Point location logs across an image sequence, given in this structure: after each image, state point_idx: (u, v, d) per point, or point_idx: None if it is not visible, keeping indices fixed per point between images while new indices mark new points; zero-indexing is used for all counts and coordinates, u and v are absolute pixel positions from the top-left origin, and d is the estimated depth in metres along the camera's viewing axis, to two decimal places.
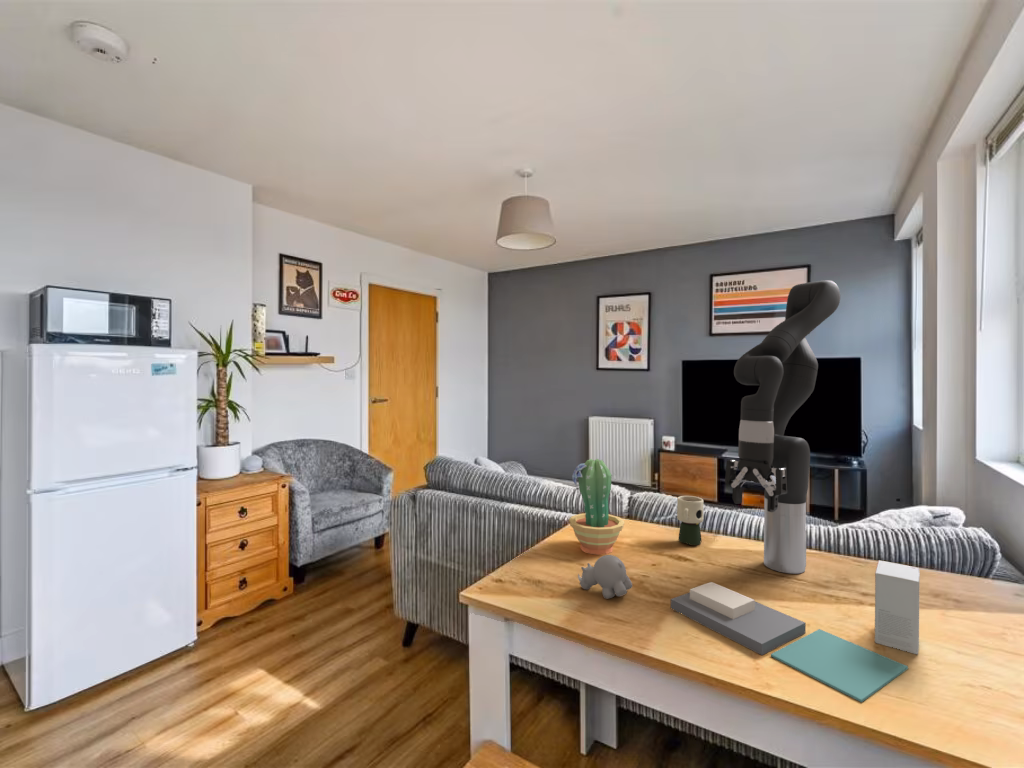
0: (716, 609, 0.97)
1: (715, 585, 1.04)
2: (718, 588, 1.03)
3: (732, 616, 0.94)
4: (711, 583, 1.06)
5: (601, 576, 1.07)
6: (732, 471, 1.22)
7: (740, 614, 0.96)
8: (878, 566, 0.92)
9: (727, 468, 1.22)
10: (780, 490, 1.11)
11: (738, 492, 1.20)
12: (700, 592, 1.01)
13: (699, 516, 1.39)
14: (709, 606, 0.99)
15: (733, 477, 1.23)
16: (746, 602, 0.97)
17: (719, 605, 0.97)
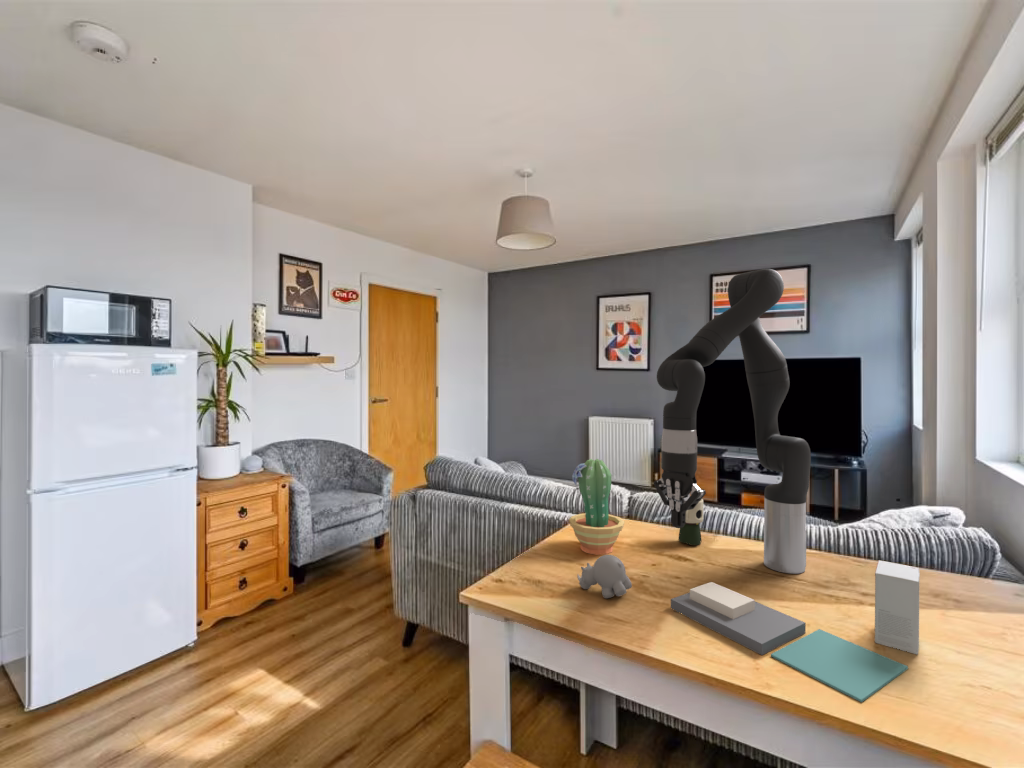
0: (716, 609, 0.97)
1: (715, 585, 1.04)
2: (718, 588, 1.03)
3: (732, 616, 0.94)
4: (711, 583, 1.06)
5: (600, 575, 1.07)
6: (664, 490, 1.12)
7: (740, 614, 0.96)
8: (878, 566, 0.92)
9: (658, 489, 1.13)
10: (686, 506, 1.06)
11: None
12: (700, 592, 1.01)
13: (699, 516, 1.39)
14: (709, 606, 0.99)
15: None
16: (746, 602, 0.97)
17: (719, 605, 0.97)
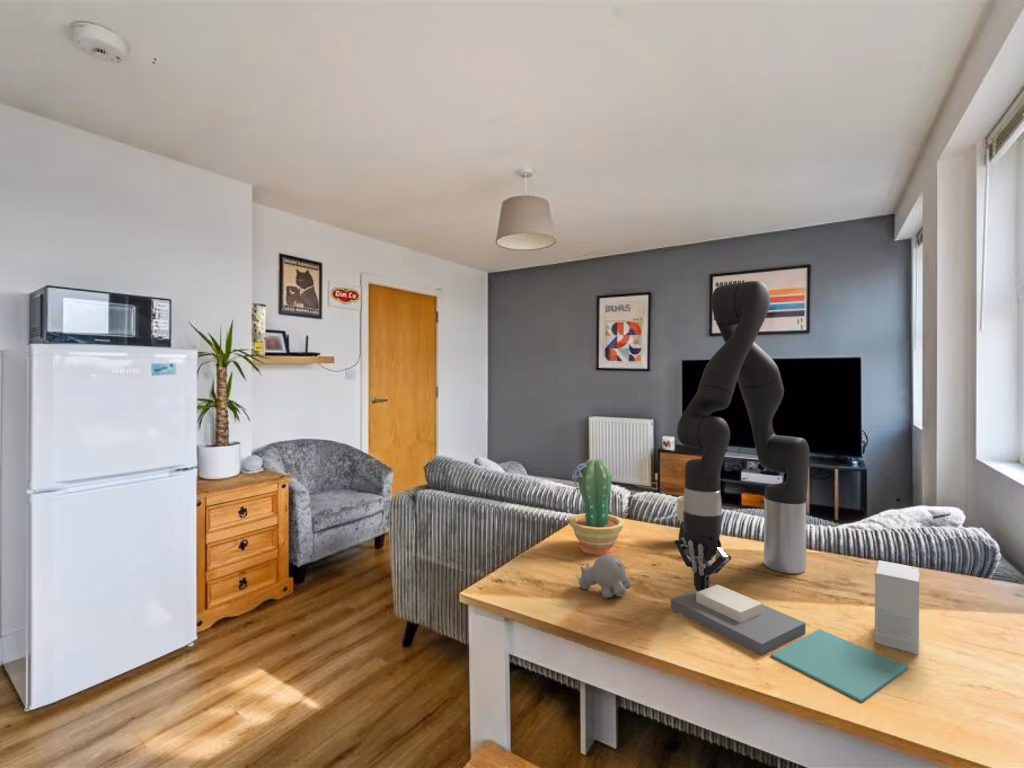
0: (723, 612, 0.96)
1: (721, 588, 1.03)
2: (724, 591, 1.02)
3: (739, 619, 0.93)
4: (718, 586, 1.04)
5: (600, 575, 1.07)
6: (686, 550, 1.07)
7: (748, 618, 0.94)
8: (878, 566, 0.92)
9: (679, 549, 1.08)
10: (710, 570, 1.01)
11: None
12: (707, 595, 1.00)
13: None
14: (716, 609, 0.97)
15: None
16: (754, 605, 0.96)
17: (726, 608, 0.96)
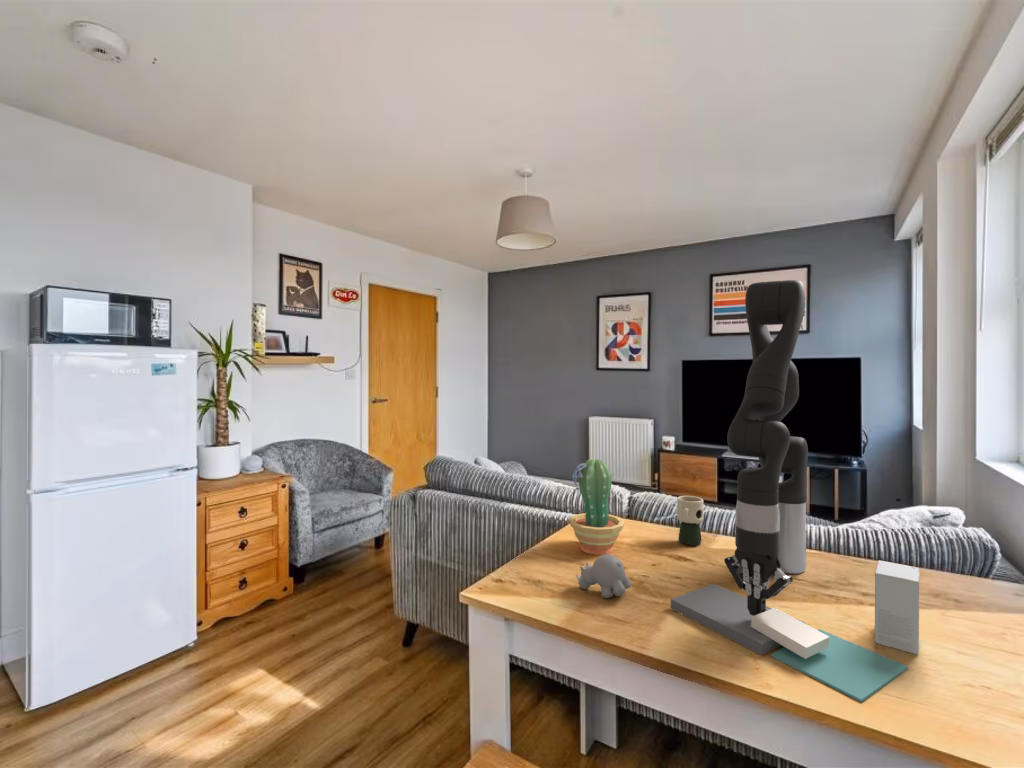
0: (784, 644, 0.85)
1: (780, 613, 0.92)
2: (784, 617, 0.91)
3: (804, 655, 0.82)
4: (775, 609, 0.93)
5: (600, 575, 1.07)
6: (737, 569, 0.97)
7: (813, 653, 0.83)
8: (878, 566, 0.92)
9: (730, 569, 0.97)
10: (768, 593, 0.90)
11: None
12: (765, 622, 0.89)
13: (699, 516, 1.39)
14: (775, 639, 0.87)
15: None
16: (820, 639, 0.84)
17: (788, 640, 0.85)
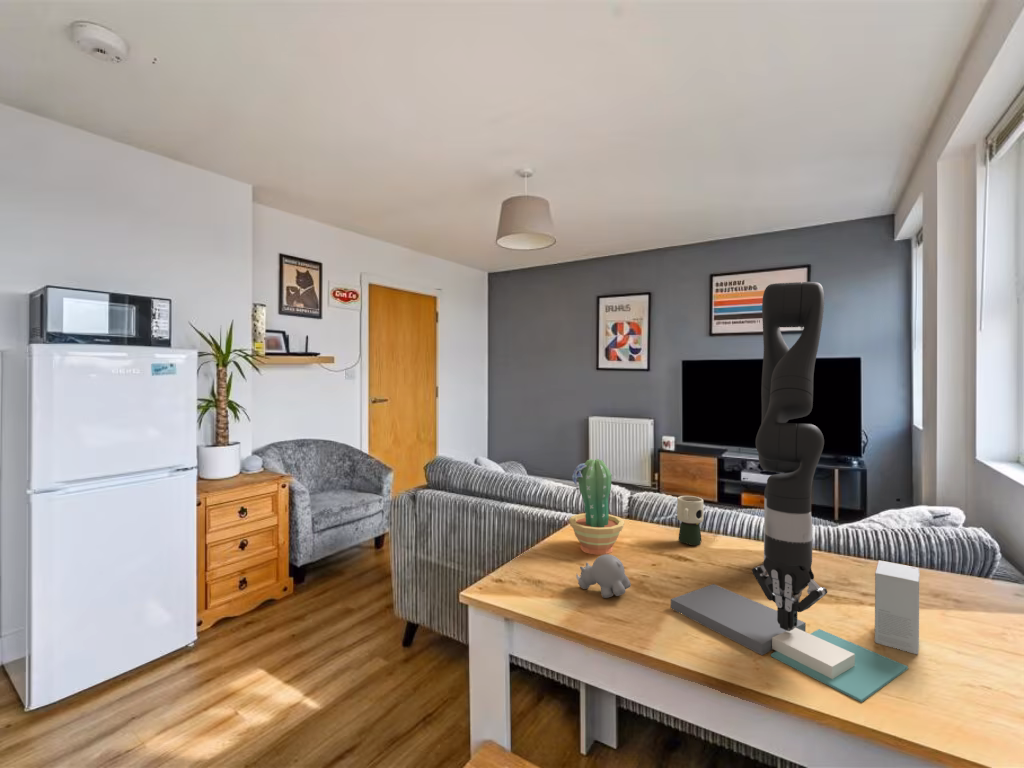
0: (808, 665, 0.82)
1: (801, 632, 0.89)
2: (805, 636, 0.87)
3: (831, 675, 0.79)
4: (795, 629, 0.90)
5: (600, 575, 1.07)
6: (766, 580, 0.92)
7: (839, 672, 0.80)
8: (878, 566, 0.92)
9: (758, 579, 0.92)
10: (800, 606, 0.86)
11: None
12: (786, 642, 0.85)
13: (699, 516, 1.39)
14: (799, 660, 0.83)
15: None
16: (845, 657, 0.81)
17: (812, 660, 0.81)
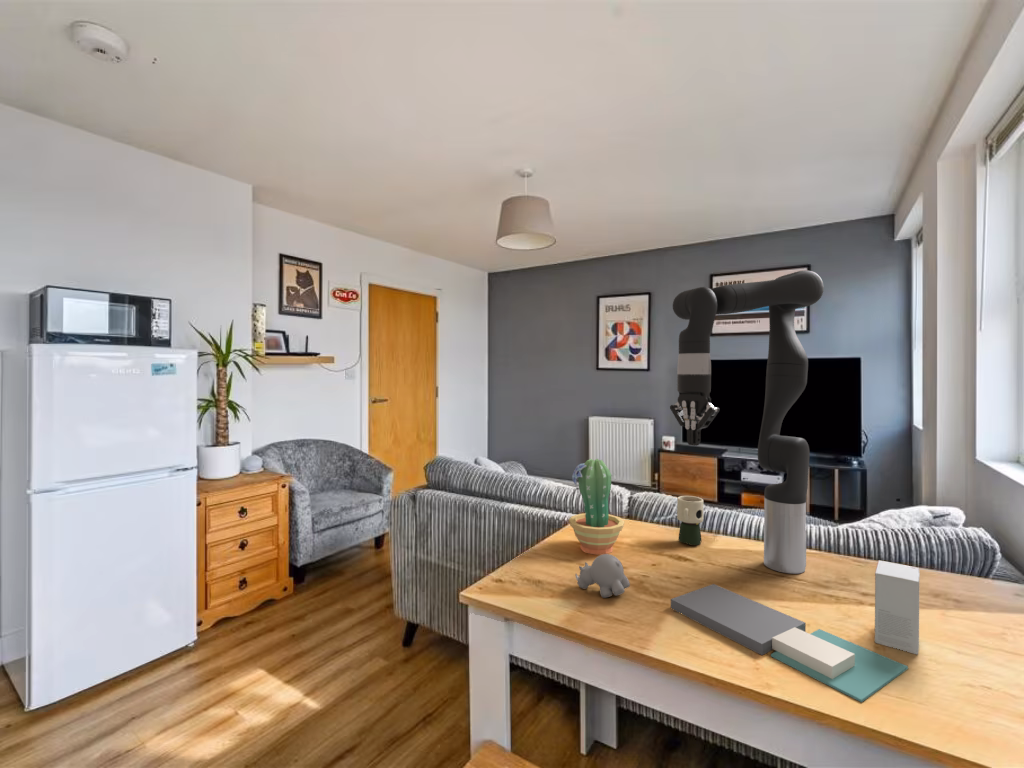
0: (808, 665, 0.82)
1: (801, 632, 0.89)
2: (805, 636, 0.87)
3: (831, 675, 0.79)
4: (795, 629, 0.90)
5: (599, 575, 1.07)
6: (680, 413, 1.21)
7: (839, 672, 0.80)
8: (878, 566, 0.92)
9: (674, 413, 1.21)
10: (701, 423, 1.14)
11: None
12: (786, 642, 0.85)
13: (699, 516, 1.39)
14: (799, 660, 0.83)
15: None
16: (845, 657, 0.81)
17: (812, 660, 0.81)
